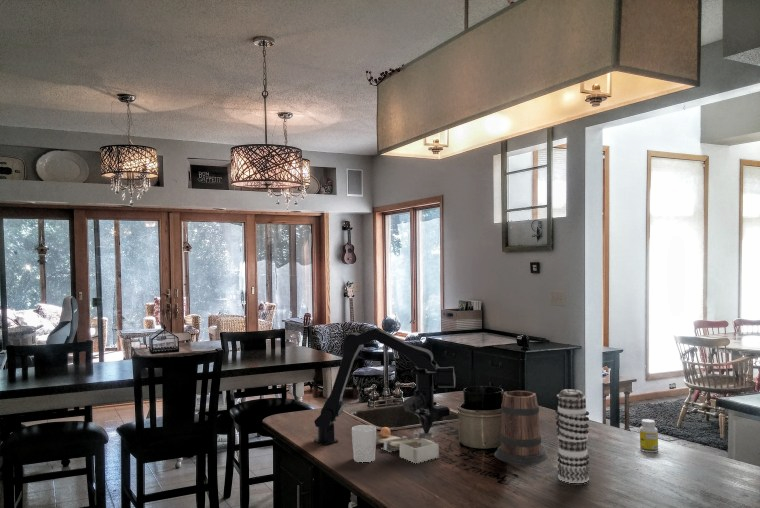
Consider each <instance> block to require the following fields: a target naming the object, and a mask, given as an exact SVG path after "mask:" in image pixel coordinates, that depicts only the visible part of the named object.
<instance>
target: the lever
mask: <svg viewBox="0 0 760 508" xmlns="http://www.w3.org/2000/svg"><path fill="white" fill-rule="evenodd" d="M432 433H433V432H430V431H429V433H424V431H422V432H419V433H418V436H419V437H416V438H415V437H414V438H411V439H408V438H407V439H404V438H403V437H399V436H395V435H391V434H390V435H389V436H388V437H386V438H385V437H383V436H382V435H381V433H380V432H379V433H376V443H377V442H378V443H382V444H384V440H387V441H389V445H392V446H396V447H400V443H403V444H406V445H408V446H411V447H414V446H417V445H418V444H421V438H424V439H427V440H430V441H434V440H436V436H435V435H433V434H432Z"/></svg>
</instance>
